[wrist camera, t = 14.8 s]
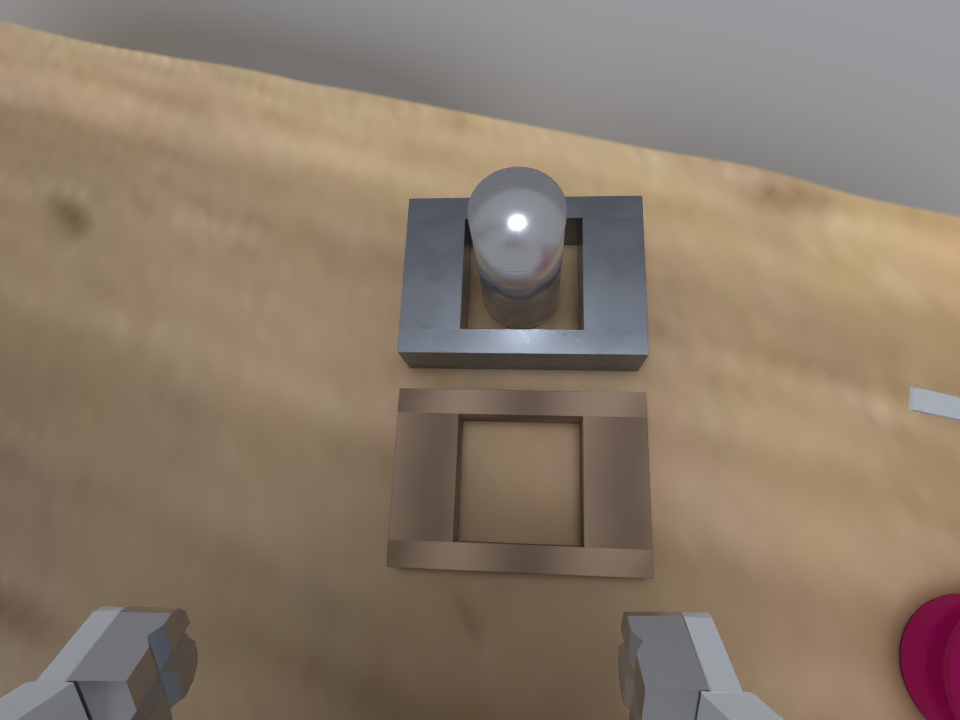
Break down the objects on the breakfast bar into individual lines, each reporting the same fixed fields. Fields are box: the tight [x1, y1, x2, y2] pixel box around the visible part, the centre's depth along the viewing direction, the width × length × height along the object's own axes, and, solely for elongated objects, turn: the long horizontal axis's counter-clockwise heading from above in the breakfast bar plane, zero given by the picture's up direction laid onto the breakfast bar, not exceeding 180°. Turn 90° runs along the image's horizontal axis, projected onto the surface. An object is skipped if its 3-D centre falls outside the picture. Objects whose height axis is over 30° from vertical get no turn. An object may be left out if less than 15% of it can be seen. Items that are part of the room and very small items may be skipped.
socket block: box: [398, 196, 649, 371], centre depth 31 cm, size 12×8×3 cm
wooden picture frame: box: [387, 388, 653, 579], centre depth 29 cm, size 12×8×2 cm
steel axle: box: [467, 167, 567, 330], centre depth 28 cm, size 4×4×9 cm
